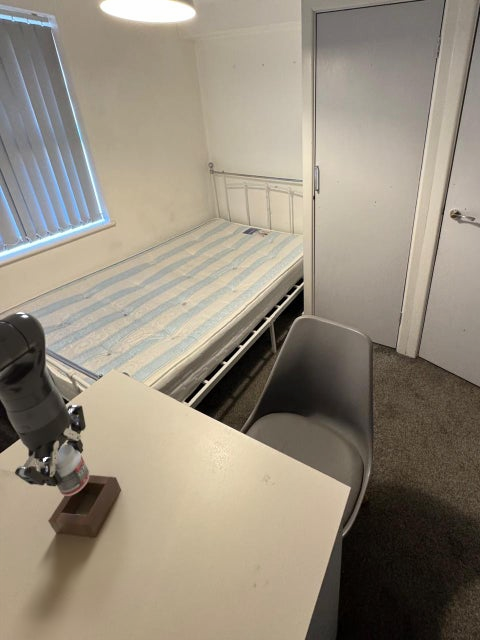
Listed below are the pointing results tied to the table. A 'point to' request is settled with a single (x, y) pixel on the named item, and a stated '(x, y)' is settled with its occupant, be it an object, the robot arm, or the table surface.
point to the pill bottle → (71, 470)
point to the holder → (91, 523)
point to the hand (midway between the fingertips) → (67, 467)
